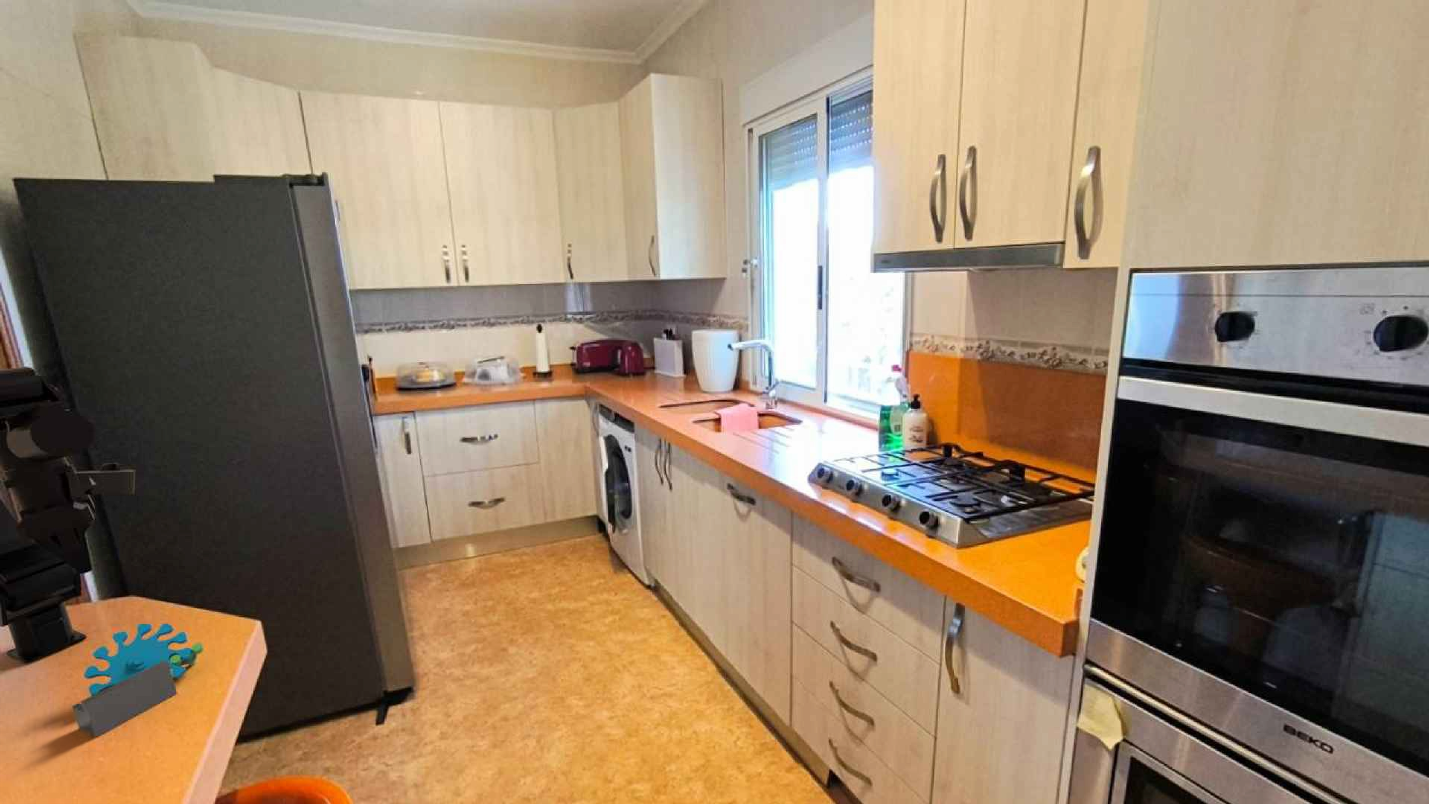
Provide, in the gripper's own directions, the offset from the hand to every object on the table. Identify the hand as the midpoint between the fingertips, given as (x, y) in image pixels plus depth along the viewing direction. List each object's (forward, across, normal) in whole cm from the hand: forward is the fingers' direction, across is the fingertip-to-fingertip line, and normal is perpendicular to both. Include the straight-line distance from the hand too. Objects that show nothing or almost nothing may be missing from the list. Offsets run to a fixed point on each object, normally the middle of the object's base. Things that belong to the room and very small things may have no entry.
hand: (87, 572), depth 82 cm
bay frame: (+15, -15, +1) cm, 21 cm away
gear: (+16, -11, -1) cm, 19 cm away
